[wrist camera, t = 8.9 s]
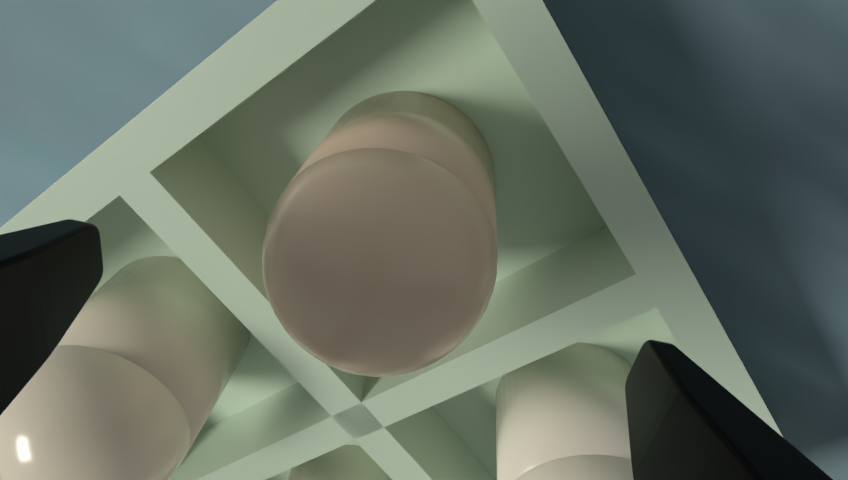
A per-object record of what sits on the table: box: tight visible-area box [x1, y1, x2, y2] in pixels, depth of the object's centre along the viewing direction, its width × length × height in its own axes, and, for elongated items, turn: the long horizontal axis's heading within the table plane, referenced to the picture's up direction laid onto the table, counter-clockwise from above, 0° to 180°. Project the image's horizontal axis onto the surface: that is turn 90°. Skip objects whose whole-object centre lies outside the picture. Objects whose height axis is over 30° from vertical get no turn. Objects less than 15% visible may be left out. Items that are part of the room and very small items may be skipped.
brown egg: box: [262, 91, 498, 377], centre depth 12 cm, size 4×4×6 cm
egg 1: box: [0, 256, 250, 480], centre depth 15 cm, size 4×4×6 cm
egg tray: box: [0, 0, 783, 480], centre depth 17 cm, size 18×18×3 cm
